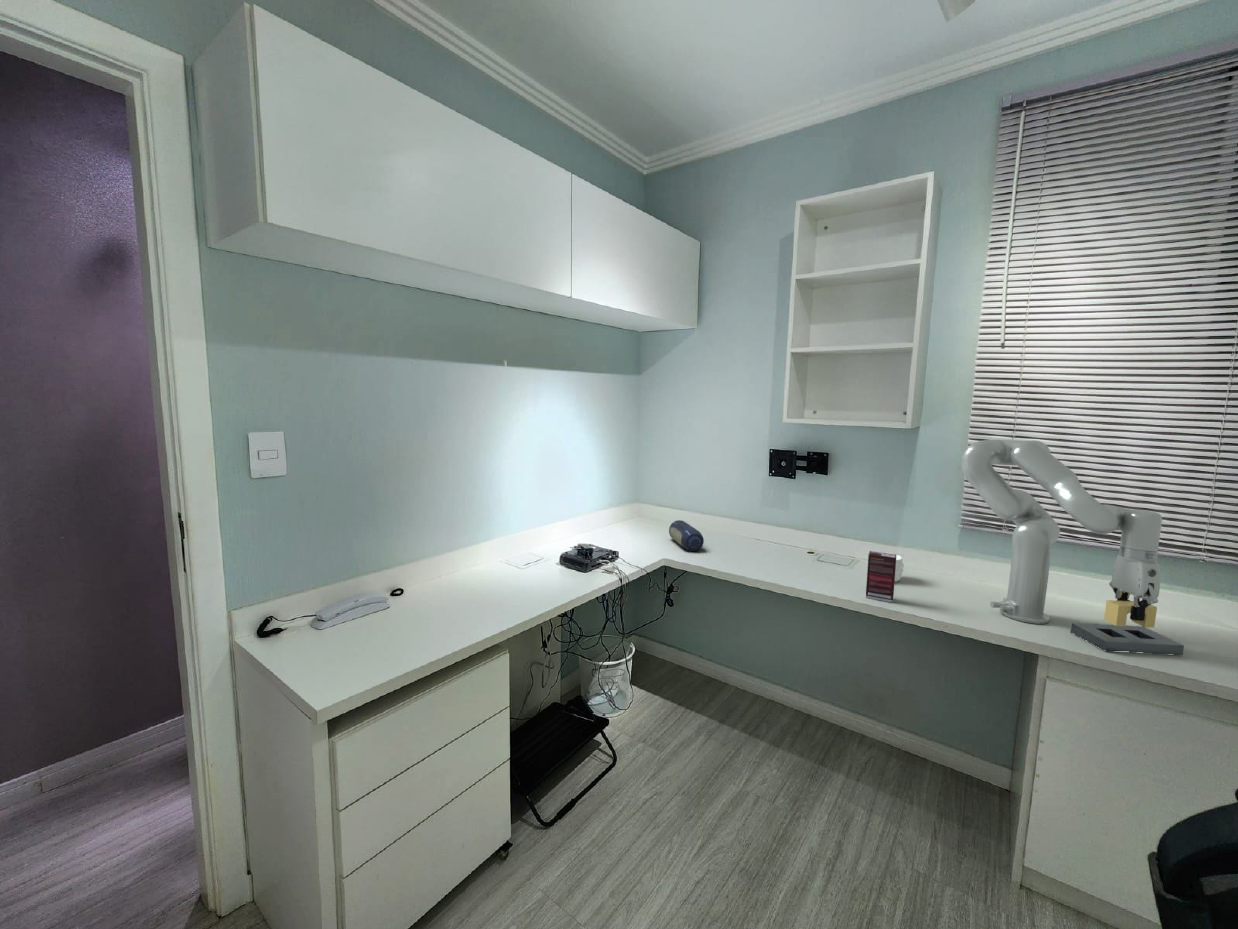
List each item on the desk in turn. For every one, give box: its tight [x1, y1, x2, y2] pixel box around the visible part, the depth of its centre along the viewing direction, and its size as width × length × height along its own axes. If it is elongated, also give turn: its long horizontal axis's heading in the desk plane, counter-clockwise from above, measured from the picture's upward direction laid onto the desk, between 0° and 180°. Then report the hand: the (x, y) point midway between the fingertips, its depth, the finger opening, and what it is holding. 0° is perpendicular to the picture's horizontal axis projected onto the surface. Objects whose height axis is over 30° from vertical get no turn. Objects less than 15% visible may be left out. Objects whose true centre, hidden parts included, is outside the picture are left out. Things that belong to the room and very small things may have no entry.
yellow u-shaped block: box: [1103, 599, 1158, 628], centre depth 146 cm, size 10×4×6 cm, turn 85°
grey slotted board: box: [1070, 622, 1185, 656], centre depth 148 cm, size 20×12×3 cm, turn 85°
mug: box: [888, 552, 905, 583], centre depth 197 cm, size 12×10×9 cm
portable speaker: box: [668, 519, 705, 552], centre depth 239 cm, size 25×10×10 cm, turn 13°
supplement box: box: [865, 550, 897, 603], centre depth 178 cm, size 9×5×16 cm, turn 60°
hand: (1129, 616), depth 146 cm, fingers closed on yellow u-shaped block, 4 cm apart
